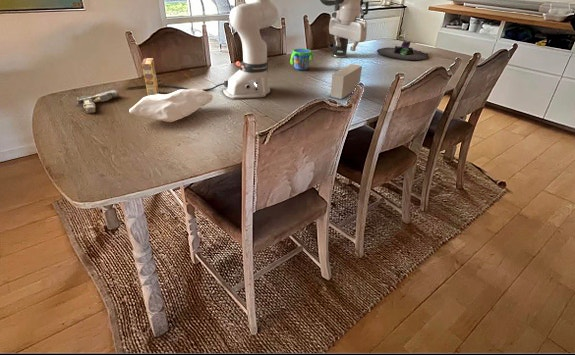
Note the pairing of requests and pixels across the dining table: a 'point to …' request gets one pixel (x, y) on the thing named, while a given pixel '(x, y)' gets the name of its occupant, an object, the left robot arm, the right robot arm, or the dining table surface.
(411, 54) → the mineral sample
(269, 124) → the dining table surface
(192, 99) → the crumpled cloth
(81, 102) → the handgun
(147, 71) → the candy box
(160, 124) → the dining table surface
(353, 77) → the box
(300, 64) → the snack cup
